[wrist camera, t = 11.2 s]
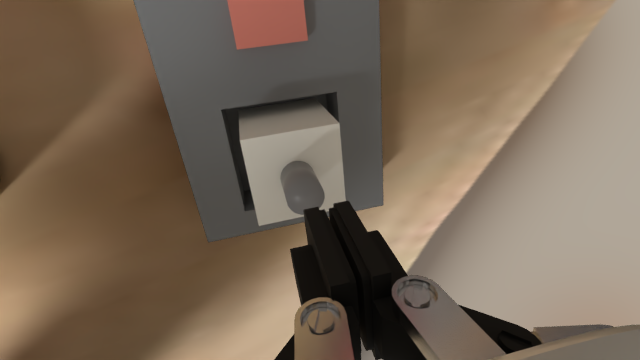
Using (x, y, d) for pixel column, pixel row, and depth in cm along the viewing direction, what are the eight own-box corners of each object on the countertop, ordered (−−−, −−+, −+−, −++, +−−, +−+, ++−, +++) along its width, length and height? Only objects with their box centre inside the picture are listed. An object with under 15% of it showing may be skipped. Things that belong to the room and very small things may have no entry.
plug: (322, 166, 25) (359, 230, 17) (253, 179, 24) (262, 252, 17) (314, 98, 23) (354, 138, 15) (238, 110, 22) (240, 158, 14)
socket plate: (366, 183, 27) (387, 210, 23) (211, 214, 25) (207, 249, 21) (355, -61, 20) (383, -79, 16) (136, -43, 18) (110, -58, 14)
